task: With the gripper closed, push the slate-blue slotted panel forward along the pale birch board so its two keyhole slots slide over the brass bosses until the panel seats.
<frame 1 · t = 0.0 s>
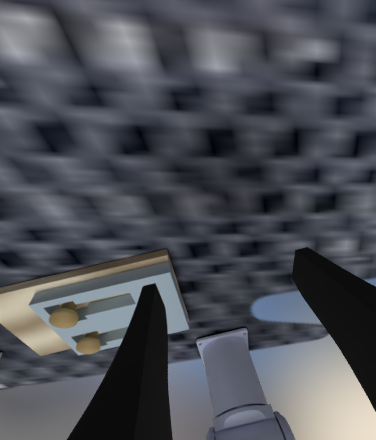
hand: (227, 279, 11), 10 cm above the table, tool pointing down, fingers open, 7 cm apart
panel: (119, 312, 24), point 2 cm above the table, slide at 6.0 cm
board: (97, 304, 25), on the table
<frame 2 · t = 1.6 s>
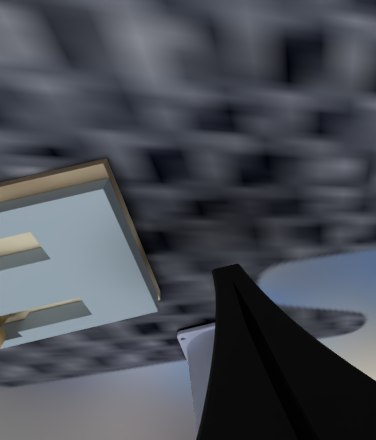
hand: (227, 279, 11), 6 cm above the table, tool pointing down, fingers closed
panel: (32, 279, 14), point 2 cm above the table, slide at 6.0 cm
board: (4, 269, 15), on the table
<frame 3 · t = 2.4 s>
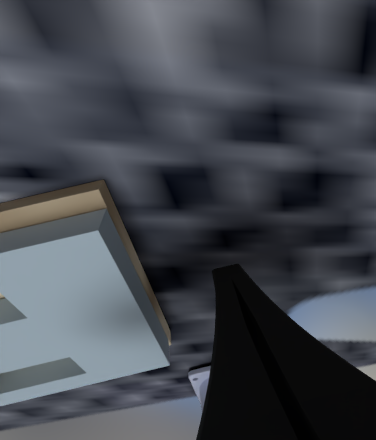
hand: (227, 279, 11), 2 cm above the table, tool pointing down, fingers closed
panel: (7, 336, 11), point 2 cm above the table, slide at 6.0 cm
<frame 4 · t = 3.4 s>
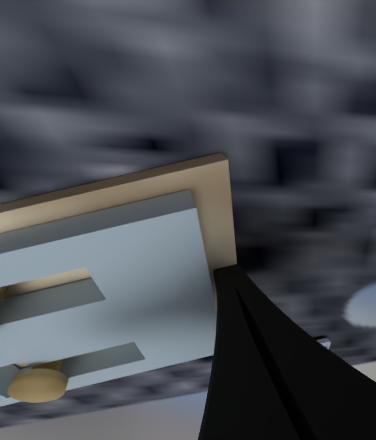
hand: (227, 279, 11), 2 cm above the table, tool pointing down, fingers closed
panel: (74, 320, 11), point 2 cm above the table, slide at 4.3 cm, touching gripper
board: (62, 295, 12), on the table
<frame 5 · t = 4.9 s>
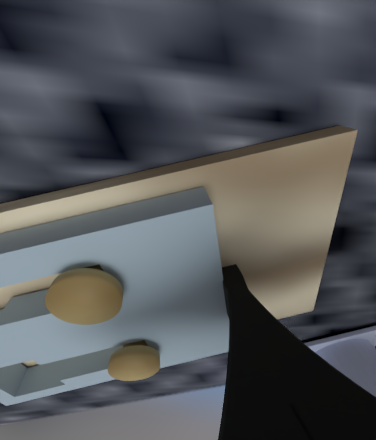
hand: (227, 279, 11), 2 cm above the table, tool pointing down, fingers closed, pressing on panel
panel: (85, 318, 11), point 2 cm above the table, slide at -0.2 cm, touching gripper
board: (148, 275, 12), on the table
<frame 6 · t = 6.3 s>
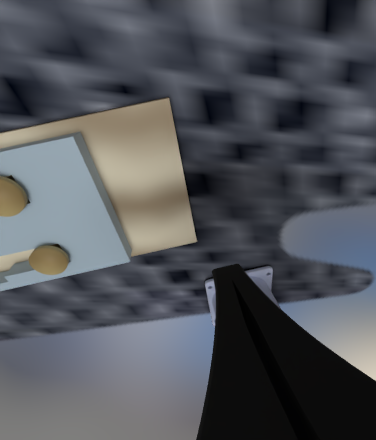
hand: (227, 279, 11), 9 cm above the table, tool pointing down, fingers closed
panel: (16, 226, 16), point 2 cm above the table, slide at 0.0 cm
board: (65, 205, 17), on the table
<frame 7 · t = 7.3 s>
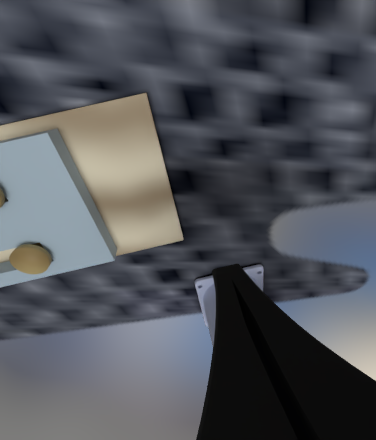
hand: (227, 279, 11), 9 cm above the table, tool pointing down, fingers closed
board: (47, 204, 17), on the table
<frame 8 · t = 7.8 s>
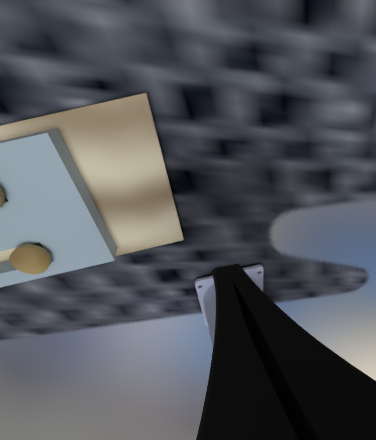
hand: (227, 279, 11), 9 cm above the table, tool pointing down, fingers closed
board: (47, 204, 17), on the table
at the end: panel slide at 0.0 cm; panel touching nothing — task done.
